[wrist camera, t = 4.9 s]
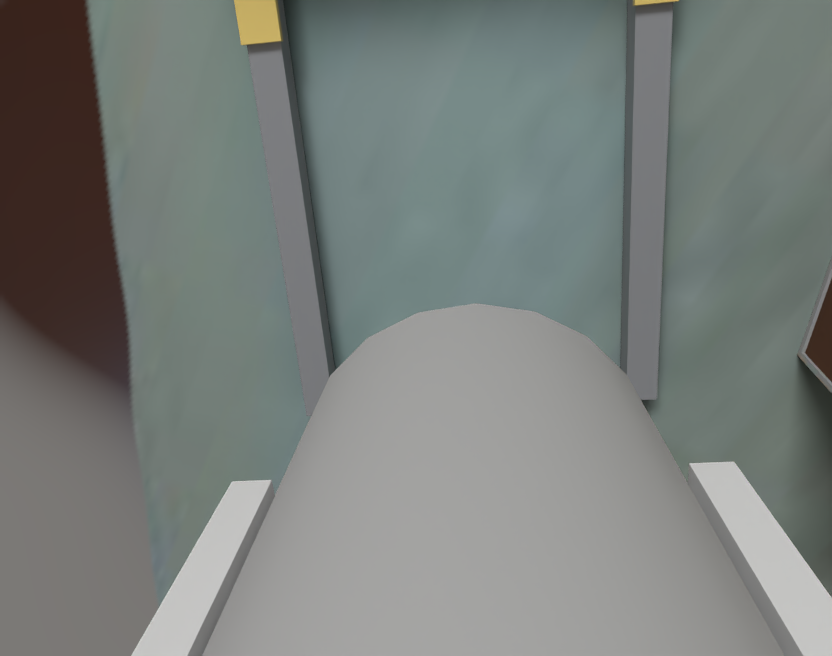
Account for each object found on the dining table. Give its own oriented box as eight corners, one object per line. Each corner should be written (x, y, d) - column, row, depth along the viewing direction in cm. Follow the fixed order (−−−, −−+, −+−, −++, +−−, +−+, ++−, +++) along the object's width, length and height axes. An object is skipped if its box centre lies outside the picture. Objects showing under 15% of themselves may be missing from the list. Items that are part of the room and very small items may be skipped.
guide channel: (651, 386, 28) (699, 463, 22) (310, 403, 29) (274, 479, 24) (679, -349, 20) (765, -518, 14) (202, -279, 21) (108, -408, 15)
